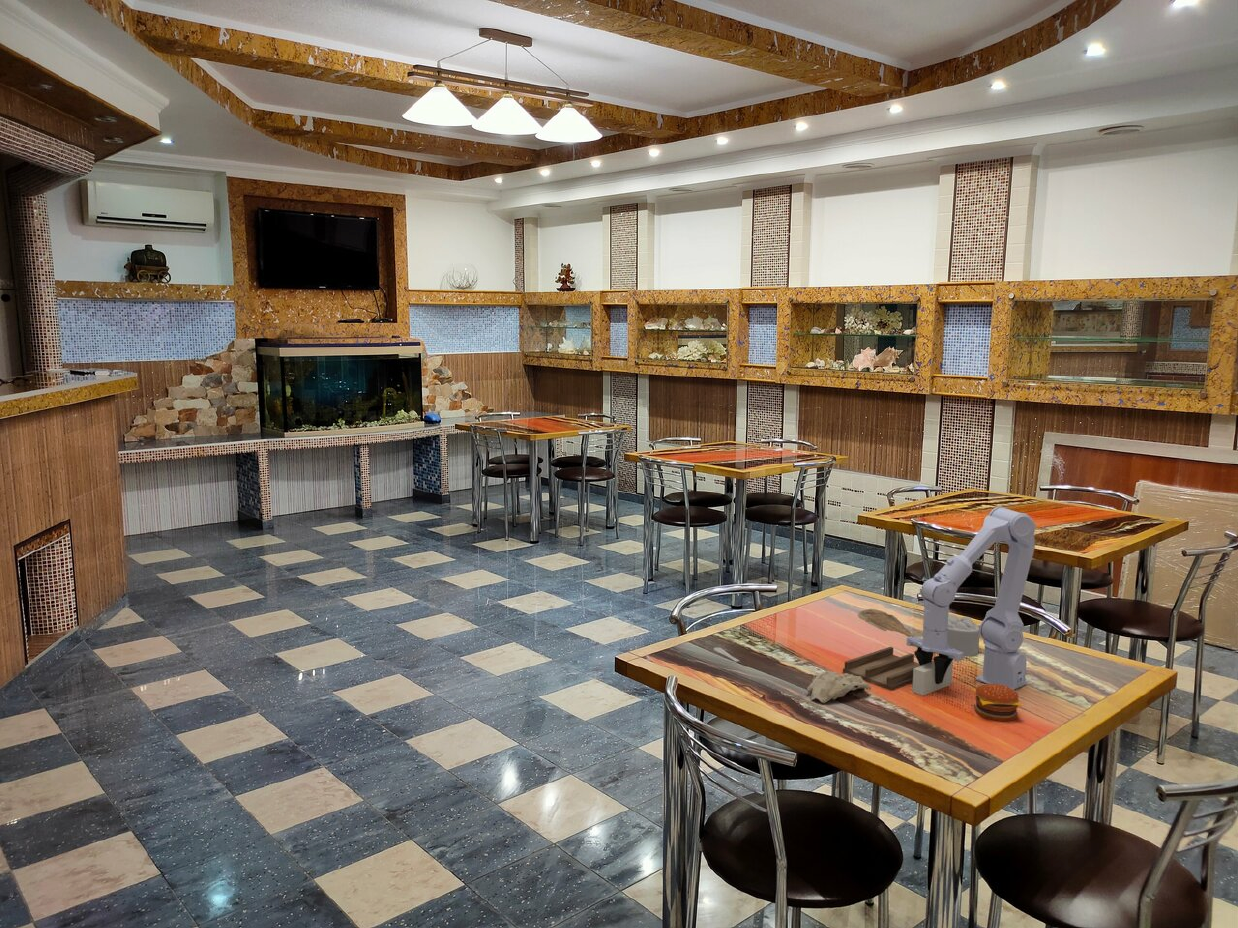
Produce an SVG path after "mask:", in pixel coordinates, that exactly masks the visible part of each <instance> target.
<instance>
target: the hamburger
mask: <svg viewBox="0 0 1238 928" xmlns="http://www.w3.org/2000/svg"><path fill="white" fill-rule="evenodd" d="M972 692H973V693H974V694H975V705H974V711H975V713H976V714H977V715H978V716H981V717H983V718H985V719H988V720H992V721H996V722H997V721H998V722H1008V721H1009V722H1010V721H1013V720H1015V719H1017V717H1018V712H1017V708H1018V707H1019V708H1023V705H1022V704H1021V702H1020V700H1019V694H1018V692H1017V691H1016V690H1015V689H1014V690H1013V689H1011V688H1009V687H1007V686H1005V685H1001V684H993V683H983V684H982V685H979V686H977V687H976V688H973V689H972Z"/></svg>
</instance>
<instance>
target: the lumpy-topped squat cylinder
mask: <svg viewBox="0 0 1238 928" xmlns="http://www.w3.org/2000/svg"><path fill="white" fill-rule="evenodd" d="M979 628H980V625H978V624H977V623H976V622H974V621H973V619H972V618H971V617H969V616H963V617H958V616H957V615H955V614H949V615H948V633H947V645H948V646H950V647H952V648H954V649H956V650H958V651H960V652H963V657H969V658H970V657H977V656H978V655H979V650H980V649H979V648H980V636H981V635H980V632H979Z"/></svg>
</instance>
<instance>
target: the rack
mask: <svg viewBox="0 0 1238 928" xmlns="http://www.w3.org/2000/svg"><path fill="white" fill-rule="evenodd" d="M914 660H915V655H914V653H908V654H905V655H903V656H898V655H895V654H894V647H893V646H888V647H885V648H882V649H879V650H875V651H873V652H870V653H866V654H864V655H861V656H858V657H855V658H852V659H849V660H846V661H844V668H842V673H843V674H845V673H847V674H849V675H854V676H861V678H862V679H863V681H864V682H866V683H870V684H871V685H876V686H878V687H881V688H883V689H885V690H889V691H895V690H897V689H899V688H902V687H904V686H907V685H910V684H913V669H914V668H916V667H919V666H920V665H919V662H915V661H914ZM933 661H934V660H932V662H933Z"/></svg>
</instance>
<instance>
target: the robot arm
mask: <svg viewBox="0 0 1238 928" xmlns="http://www.w3.org/2000/svg"><path fill="white" fill-rule="evenodd" d="M1036 527H1037V524H1036V523H1035V521H1034V520H1033V518H1032V517H1031V516H1030V515H1029V514H1027V513H1024V512H1020V511H1019V512H1018V511H1016V510H1012V509H1009V508H1006V507H1003V506H997V507H995V508H993V509H992V510H990V512H989V514H988V515H986V517H985V518H984V519H983V525H982V527H981V528H980V529H979V530H978V532H977V533H976V535H975V536H973V538H972V540H971V541H970V542H969V543H968V545H967V546H966V547H965V549H964V550H963V551H962V552H961V554H959V555H952V557H949V558H948V559H947V560H946V563H945V564H944V565H943V567H942V568H941V569H940V570H939V571H938V572H937V573H935V574H934V576H933V577H931V578H929V579H927V580H926V581H924V582H923V584H922V586H921V588H919V594H920V596H921V597H922V600H923V605H924V606H923V621H922V625H923V626H922V638H919V637H915V636H914V637H912V636H911V637H907V638H906V646H909V647H915V648H917V649H916V650H915V651H913V652H914V653H913V654H914V657H916V660H917V663H919V665H920V666H922V665H925V664H927V663H930V662H932V661H934V664H935V683H936V684H940V683H942V682H943V679H944V676H945V673H946V671H947V668H948V667H949V665H950V663H951V662H952V661H955V662H959V663H960V662H961V661H963V659H964V656H963V652H960V651H958V650H956V649H954V648H952V647H950V646H948V645H947V633H948V615H950V614H949V613H950V605H951V604H952V603H953V602H954V601H955V598H956V593H957V592H958V588H959V587H960V586H961V585H962V584H963V583H964V581H966V579H967V578H968V577H969V576H970V575H971V573H973V564H974V563H976V561H977V560H978V559H980V557H981V556H982V555H983V554H985V553H986V551H987V550H989V549H990V548H991V546H993V545H994V544H995V543H998V542H999V543H1000V542H1005V543H1006V544H1007V546H1008V553H1007V556H1006V561H1005V565H1004V568H1003V573H1002V576H1001V580H1000V585H999V588H998V592H997V596H996V601H995V605H994V607H992V608H991V609H989V610H988V611H986V612H985V613H986V614H985V617H984V619H982V621H981V622H980V624H979V632H980V635H979V636H980V637H981V638H982V639H983V644H984V651H983V665H982V666H983V667H982V674H981V675H979V676H976V677H975V678H974V679H975V681H978V682H981V683H983V684H987V683H993V684H1001V685H1005V686H1007V687H1009V688H1011V689H1013V690H1014V691H1015V690H1017V689H1019V688H1020V687H1023V686H1025V685H1027V681H1026V676H1027V675H1026V673H1027V657H1026V655H1025V654H1023V653H1021V652H1019V651H1018V650H1019V648H1021V646H1022V645H1023V643H1024V634H1023V633H1024V632H1023V630H1024V625H1025V624H1024V623H1023V620H1022V618H1021V617H1020V614H1019V611H1020V606H1021V602H1022V600H1023V594H1024V591H1025V586H1026V583H1027V579H1028V575H1029V572H1030V567H1031V564H1032V560H1033V556H1034V552H1035V546H1036V542H1035V541H1036V540H1035V539H1036V538H1035V531H1036ZM935 654H937V655H936V656H934V655H935Z"/></svg>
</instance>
